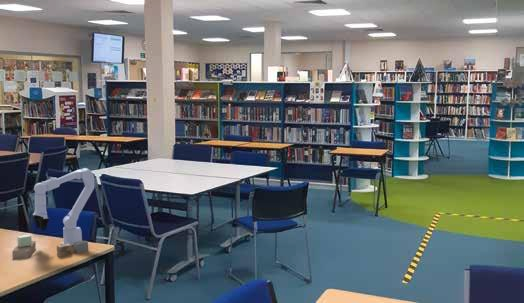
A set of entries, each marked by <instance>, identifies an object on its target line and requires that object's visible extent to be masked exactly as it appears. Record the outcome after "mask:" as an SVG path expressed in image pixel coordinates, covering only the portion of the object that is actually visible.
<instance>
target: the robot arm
mask: <svg viewBox="0 0 524 303" xmlns="http://www.w3.org/2000/svg"><path fill="white" fill-rule="evenodd" d="M73 180H81V181H83V185H84V187H83V189H82V190H81V192H80V194H79V196H78V197H77V199H76V201H75V203H74V204H73V206H72V209H71V210H70V211H69V212H68V213H67V215H65V216H64V217H63V219H62V223H63V225H64V226H63V228H62V234H63V235H62V236H63V238H62V239H63V241H62V242H60V245H62V244H67V243H68V244H70V245H71V246H74V243H75V242H80V241H83V234H82V233H83V232H82V229H81V227H80V226H77V222H78V220H79V216H80V214H81V212H82V210H83V208H84V207H85V205H86V203H87V201H88V200H89V198H90V197H91V194H92V193H93V191H94V189H95V187H96V186H95V176H94V173H93V171H91V170H90V169H89V168H87V167H83V168H81V169H77V170H74V171H72V172H69V173H67V174H65V175H62V176H61V177H58V178H57V177H53V176H51V177H49V179H47V180H45V181H43V180H42V181H41V182H37V183H36V184H35V185H34V187H33V190H34V211H33V213H32V215H31V216H32V218H33V220H34V224H35V227H36V229H39V228H40V229H41V230H40V231H42V232H44V231H47V226H48V223H49V221H50V219H51V218H50V217H49V216H48V212H47V196H46V193H47V192H49V191H51V190H55V189H57V188H59V187H60V185H61V184H63V183H66V182H69V181H73Z"/></svg>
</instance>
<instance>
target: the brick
mask: <svg viewBox="0 0 524 303" xmlns="http://www.w3.org/2000/svg"><path fill="white" fill-rule="evenodd" d="M36 242H37V241H36V240H32V245H30V246H24V247H19V246H18V244H17V245H16V246H15V247H14V248H13V249H12V251H11V252H12V258H13V259H23V258H24V259H25V258H27V259H28V258H30V257H31V255H32V254H33V253H34V252H35V249H36V247H37V246H36Z"/></svg>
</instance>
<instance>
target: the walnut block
mask: <svg viewBox="0 0 524 303" xmlns="http://www.w3.org/2000/svg"><path fill="white" fill-rule="evenodd" d="M56 255H57V256H59V257H64V256H68V255H72V245H70V244H68V243H67V244H58V245H56Z"/></svg>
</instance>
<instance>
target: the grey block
mask: <svg viewBox="0 0 524 303" xmlns="http://www.w3.org/2000/svg"><path fill="white" fill-rule="evenodd" d="M73 246H74V247H73V248H74V252H75V253H76V254H79V253H80V254H81V253H85V252H89V241H87V240H82V241H80V242H75V243H74V245H73Z"/></svg>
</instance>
